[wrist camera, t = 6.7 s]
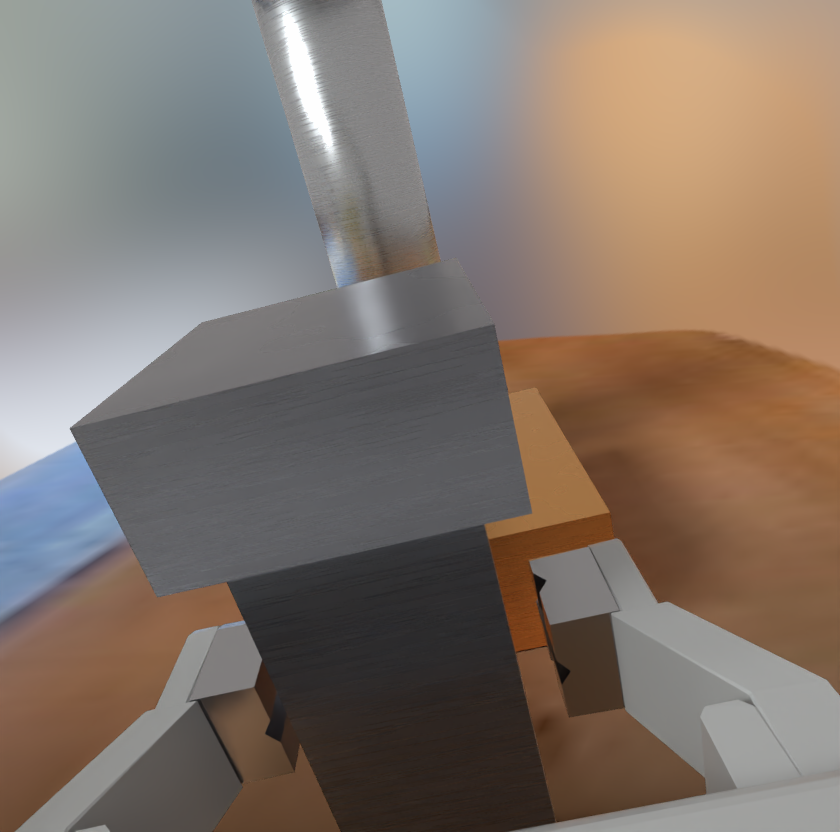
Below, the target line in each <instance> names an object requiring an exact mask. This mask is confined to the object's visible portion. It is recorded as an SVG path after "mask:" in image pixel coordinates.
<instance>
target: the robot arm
mask: <svg viewBox="0 0 840 832" xmlns="http://www.w3.org/2000/svg"><path fill="white" fill-rule="evenodd" d="M528 564H529V570H530V575H531V580H532V583H533V586H534V590H535V593H536V596H537V601H536V603H537V608H538V612H539V616H540V621H541V625H542V629H543V633H544V637H545V641H546V644H547V648H548V651H549V654H550V658H551V660H552V661H553V662H554V667H555V672H556V676H557V681H558V684H559V688H560V691H561V694H562V697H563V700H564V703H565V707H566V710H567V713H568V716H569V717H575V716H581V715H586V714H592V713H598V712H604V711H610V710H616V709H622V708H625V710H626V711H627V712H628V713H629V714H630V715H631V716H632V717H634V718H635V719H636V720H637V721H638V722H640V723H641V724H642V725H643V726H644V727H645V728H647V729H648V730H649V731H650V732H651V733H653V734H654V735H655V736H656V737H657V738H658V739H660V740H661V741H662V742H663V743H664V744H665V745H667V746H668V747H669V748H670V749H671V750H673V751H674V752H675V753H676V754H677V755H678V756H680V757H681V758H682V759H683V760H684V761H686V762H687V763H688V764H689V765H690V766H691V767H693V768H694V769H695V770H696V771H697V772H699V773H700V774H701V775H702V776H703V777H704V778H705V783H706V795H700V796H695V797H690V798H684V799H679V800H674V801H668V802H663V803H658V804H652V805H647V806H642V807H636V808H631V809H626V810H621V811H615V812H610V813H605V814H599V815H594V816H589V817H583V818H578V819H573V820H567V821H562V822H557V823H551V824H546V825H541V826H536V827H530V828H525V829H520V830H514V831H509V832H840V695H839V694H838V693H837V692H836V691H835V689H834V688H833V687H832V686H831V684H830V683H829V682H828V681H827V680H826V679H824V678H822V677H820V676H818V675H816V674H814V673H812V672H810V671H808V670H806V669H804V668H802V667H800V666H798V665H796V664H793V663H791V662H789V661H787V660H785V659H783V658H781V657H779V656H777V655H775V654H773V653H771V652H769V651H767V650H765V649H763V648H761V647H759V646H757V645H755V644H753V643H751V642H749V641H747V640H745V639H743V638H741V637H739V636H737V635H735V634H733V633H731V632H729V631H727V630H725V629H723V628H721V627H719V626H716V625H714V624H712V623H710V622H708V621H706V620H704V619H702V618H700V617H698V616H696V615H694V614H692V613H690V612H688V611H686V610H684V609H682V608H680V607H678V606H676V605H674V604H672V603H670V602H663V603H658V602H657V600H656V598H655V597H654V595H653V593H652V592H651V590H650V588H649V587H648V585H647V583H646V582H645V580H644V578H643V576H642V575H641V573H640V571H639V570H638V568H637V566H636V565H635V563H634V561H633V560H632V558H631V556H630V554H629V553H628V551H627V549H626V548H625V546H624V544H623V543H622V541H621V540H619V539H617V538H616V539H612V540H608V541H604V542H600V543H596V544H592V545H588V546H587V547H584V548H579V549H575V550H570V551H566V552H561V553H557V554H552V555H548V556H543V557H539V558H534V559H530V560H528ZM299 745H300V741H299V739H298V737H297V735H296V732H295V730H294V728H293V726H292V724H291V722H290V719H289V717H288V715H287V713H286V711H285V708H284V706H283V704H282V702H281V700H280V697H279V695H278V693H277V691H276V689H275V686H274V684H273V682H272V680H271V678H270V676H269V673H268V671H267V669H266V667H265V665H264V662H263V660H262V658H261V656H260V654H259V651H258V649H257V647H256V645H255V643H254V641H253V638H252V636H251V634H250V632H249V630H248V627H247V625H246V623H245V621H239V622H234V623H229V624H224V625H222V626H215V627H210V628H206V629H201V630H196V631H194V632H193V633H191V634H190V635H189V636H188V638H187V640H186V642H185V644H184V646H183V649H182V651H181V653H180V655H179V657H178V660H177V662H176V664H175V666H174V668H173V671H172V673H171V675H170V677H169V679H168V682H167V684H166V686H165V688H164V690H163V693H162V695H161V697H160V699H159V701H158V704H157V706H156V708H155V709H154V710H149V711H146V712H145V713H144V714H142V715H141V716H140V717H139V718H138V719H137V720H136V721H135V722H134V723H133V724H132V725H130V726H129V727H128V728H127V729H126V730H125V731H124V732H123V733H122V734H121V735H120V736H118V737H117V738H116V739H115V740H114V741H113V742H112V743H111V744H110V745H109V746H108V747H106V748H105V749H104V750H103V751H102V752H101V753H100V754H99V755H98V756H97V757H96V758H94V759H93V760H92V761H91V762H90V763H89V764H88V765H87V766H86V767H85V768H84V769H83V770H81V771H80V772H79V773H78V774H77V775H76V776H75V777H74V778H73V779H72V780H71V781H69V782H68V783H67V784H66V785H65V786H64V787H63V788H62V789H61V790H60V791H59V792H57V793H56V794H55V795H54V796H53V797H52V798H51V799H50V800H49V801H48V802H47V803H45V804H44V805H43V806H42V807H41V808H40V809H39V810H38V811H37V812H36V813H35V814H33V815H32V816H31V817H30V818H29V819H28V820H27V821H26V822H25V823H24V824H23V825H21V826H20V827H19V828H18V829H17V830H16V831H15V832H213V830H214V829H215V827H216V826H217V824H218V823H219V821H220V820H221V819H222V817H223V816H224V814H225V813H226V811H227V810H228V808H229V807H230V805H231V804H232V802H233V801H234V800H235V798H236V797H237V795H238V794H239V792H240V791H241V789H242V788H243V787H242V784H246V783H250V782H255V781H259V780H263V779H268V778H272V777H276V776H281V775H285V774H289V773H293V772H295V767H296V761H297V756H298V750H299Z"/></svg>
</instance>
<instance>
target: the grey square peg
mask: <svg viewBox="0 0 840 832" xmlns="http://www.w3.org/2000/svg"><path fill="white" fill-rule="evenodd" d="M70 430H71V432H72V434H73V436H74V438H75V440H76V442H77V444H78V446H79V448H80V449H81V451H82V453H83V455H84V457H85V459H86V461H87V463H88V465H89V467H90V469H91V471H92V473H93V475H94V476H95V478H96V480H97V482H98V484H99V486H100V488H101V490H102V492H103V494H104V496H105V498H106V500H107V501H108V503H109V505H110V507H111V509H112V511H113V513H114V515H115V517H116V519H117V521H118V523H119V525H120V527H121V528H122V530H123V532H124V534H125V536H126V538H127V540H128V542H129V544H130V546H131V548H132V550H133V552H134V554H135V555H136V557H137V559H138V561H139V563H140V565H141V567H142V569H143V571H144V573H145V575H146V577H147V579H148V581H149V582H150V584H151V586H152V588H153V590H154V592H155V594H156V596H157V597H161V596H166V595H170V594H175V593H179V592H184V591H188V590H193V589H197V588H202V587H206V586H210V585H215V584H219V583H224V582H227V584H228V586H229V588H230V590H231V592H232V595H233V597H234V599H235V601H236V603H237V606H238V608H239V610H240V612H241V614H242V616H243V619H244V621H245V623H246V625H247V627H248V630H249V632H250V634H251V636H252V638H253V641H254V643H255V645H256V647H257V649H258V651H259V654H260V656H261V658H262V660H263V662H264V665H265V667H266V669H267V671H268V673H269V676H270V678H271V680H272V682H273V684H274V686H275V689H276V691H277V693H278V695H279V697H280V700H281V702H282V704H283V706H284V708H285V711H286V713H287V715H288V717H289V719H290V722H291V724H292V726H293V728H294V730H295V732H296V735H297V737H298V739H299V741H300V743H301V746H302V748H303V750H304V752H305V754H306V757H307V759H308V761H309V763H310V765H311V767H312V770H313V772H314V774H315V776H316V778H317V781H318V783H319V785H320V787H321V789H322V792H323V794H324V796H325V798H326V800H327V802H328V805H329V807H330V809H331V811H332V813H333V816H334V818H335V820H336V822H337V824H338V827H339V829H340V831H341V832H509V831H514V830H520V829H525V828H530V827H536V826H541V825H546V824H551V823H557V822H556V818H555V814H554V809H553V805H552V801H551V797H550V793H549V789H548V784H547V780H546V776H545V772H544V768H543V763H542V759H541V755H540V751H539V747H538V743H537V738H536V734H535V730H534V726H533V722H532V717H531V713H530V709H529V705H528V701H527V697H526V692H525V688H524V684H523V680H522V676H521V672H520V667H519V663H518V659H517V655H516V651H515V646H514V642H513V638H512V634H511V630H510V626H509V621H508V617H507V613H506V609H505V605H504V600H503V596H502V592H501V588H500V584H499V580H498V575H497V571H496V567H495V563H494V559H493V555H492V550H491V546H490V542H489V538H488V534H487V529H486V525H485V524H488V523H492V522H497V521H501V520H506V519H510V518H515V517H519V516H524V515H528V514H532V509H531V504H530V499H529V494H528V489H527V484H526V479H525V474H524V469H523V464H522V459H521V454H520V449H519V444H518V439H517V434H516V429H515V425H514V420H513V415H512V410H511V405H510V400H509V395H508V390H507V385H506V380H505V375H504V370H503V365H502V360H501V355H500V350H499V345H498V340H497V335H496V330H495V326H494V323H493V321H492V319H491V318H490V316H489V314H488V312H487V311H486V309H485V307H484V305H483V304H482V302H481V300H480V298H479V297H478V295H477V293H476V291H475V290H474V288H473V286H472V284H471V283H470V281H469V279H468V278H467V276H466V274H465V272H464V270H463V269H462V267H461V265H460V263H459V262H458V260H457V258H454V259H450V260H446V261H442V262H438V263H434V264H430V265H426V266H422V267H418V268H414V269H410V270H406V271H403V272H399V273H395V274H391V275H387V276H383V277H379V278H375V279H371V280H367V281H363V282H359V283H355V284H351V285H348V286H344V287H340V288H336V289H332V290H328V291H324V292H320V293H316V294H312V295H308V296H305V297H301V298H297V299H293V300H289V301H285V302H281V303H277V304H273V305H269V306H265V307H261V308H258V309H253V310H249V311H245V312H242V313H238V314H234V315H230V316H226V317H222V318H218V319H214V320H210V321H206V322H202V323H201V324H199V325H198V326H197V327H196V328H194V329H193V330H192V331H191V332H189V333H188V334H187V335H186V336H184V337H183V338H182V339H181V340H179V341H178V342H177V343H176V344H174V345H173V346H172V347H171V348H169V349H168V350H167V351H166V352H165V353H163V354H162V355H161V356H159V357H158V358H157V359H156V360H154V361H153V362H152V363H151V364H150V365H148V366H147V367H146V368H144V369H143V370H142V371H141V372H140V373H138V374H137V375H136V376H134V377H133V378H132V379H131V380H130V381H128V382H127V383H126V384H125V385H123V386H122V387H121V388H120V389H118V390H117V391H116V392H115V393H113V394H112V395H111V396H110V397H108V398H107V399H106V400H105V401H103V402H102V403H101V404H100V405H98V406H97V407H96V408H95V409H93V410H92V411H91V412H90V413H89V414H87V415H86V416H85V417H83V418H82V419H81V420H80V421H78V422H77V423H76V424H75V425H73V426H72V427H71V428H70Z"/></svg>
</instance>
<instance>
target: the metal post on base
mask: <svg viewBox="0 0 840 832" xmlns="http://www.w3.org/2000/svg"><path fill="white" fill-rule="evenodd" d="M252 4H253V7H254V10H255V14H256V17H257V20H258V23H259V27H260V30H261V34H262V37H263V40H264V44H265V47H266V51H267V54H268V57H269V61H270V64H271V67H272V71H273V74H274V77H275V81H276V84H277V87H278V91H279V94H280V97H281V101H282V104H283V108H284V111H285V114H286V118H287V121H288V124H289V128H290V131H291V134H292V138H293V141H294V144H295V148H296V151H297V154H298V158H299V161H300V164H301V168H302V171H303V175H304V178H305V181H306V185H307V188H308V191H309V195H310V198H311V201H312V205H313V208H314V211H315V215H316V218H317V221H318V224H319V228H320V231H321V235H322V238H323V241H324V245H325V248H326V251H327V255H328V258H329V262H330V265H331V268H332V272H333V275H334V278H335V282H336V285H337V288H340V287H344V286H348V285H351V284H355V283H359V282H363V281H367V280H371V279H375V278H379V277H383V276H387V275H391V274H395V273H399V272H403V271H406V270H410V269H414V268H418V267H422V266H426V265H430V264H434V263H438V262H441V260H440V256H439V252H438V247H437V243H436V238H435V234H434V230H433V225H432V221H431V217H430V213H429V208H428V204H427V199H426V195H425V190H424V186H423V182H422V177H421V173H420V168H419V164H418V159H417V155H416V151H415V147H414V142H413V137H412V134H411V129H410V124H409V120H408V116H407V111H406V107H405V102H404V99H403V93H402V89H401V85H400V80H399V76H398V71H397V67H396V63H395V58H394V54H393V50H392V45H391V41H390V36H389V32H388V28H387V23H386V19H385V14H384V10H383V6H382V1H381V0H252ZM508 395H509V400H510V405H511V410H512V415H513V420H514V425H515V429H516V434H517V439H518V444H519V449H520V454H521V459H522V464H523V469H524V474H525V479H526V484H527V489H528V494H529V499H530V504H531V509H532V514H528V515H524V516H519V517H515V518H510V519H506V520H501V521H497V522H492V523H488V524H485V525H486V529H487V534H488V538H489V542H490V546H491V550H492V555H493V559H494V563H495V567H496V571H497V575H498V580H499V584H500V588H501V592H502V596H503V600H504V605H505V609H506V613H507V617H508V621H509V626H510V630H511V634H512V638H513V642H514V646H515V651H516V652H517V651H522V650H527V649H532V648H536V647H541V646H546V645H547V644H546V641H545V637H544V633H543V629H542V625H541V621H540V616H539V612H538V608H537V603H536V601H537V596H536V593H535V590H534V586H533V583H532V580H531V575H530V570H529V564H528V560H530V559H534V558H539V557H543V556H548V555H552V554H557V553H561V552H566V551H570V550H575V549H579V548H584V547H587V546H588V545H592V544H596V543H600V542H604V541H608V540H612V539H614V536H613V529H612V522H611V515H610V511H609V510H608V508H607V506H606V504H605V503H604V501H603V499H602V498H601V496H600V494H599V493H598V491H597V489H596V488H595V486H594V484H593V483H592V481H591V479H590V478H589V476H588V474H587V473H586V471H585V469H584V468H583V466H582V464H581V463H580V461H579V459H578V457H577V456H576V454H575V452H574V451H573V449H572V447H571V446H570V444H569V442H568V441H567V439H566V437H565V436H564V434H563V432H562V431H561V429H560V427H559V426H558V424H557V422H556V421H555V419H554V417H553V416H552V414H551V412H550V410H549V409H548V407H547V405H546V404H545V402H544V400H543V399H542V397H541V395H540V394H539V392H538V390H537V389H536V387H535V388H530V389H526V390H522V391H518V392H514V393H509V394H508Z"/></svg>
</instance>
